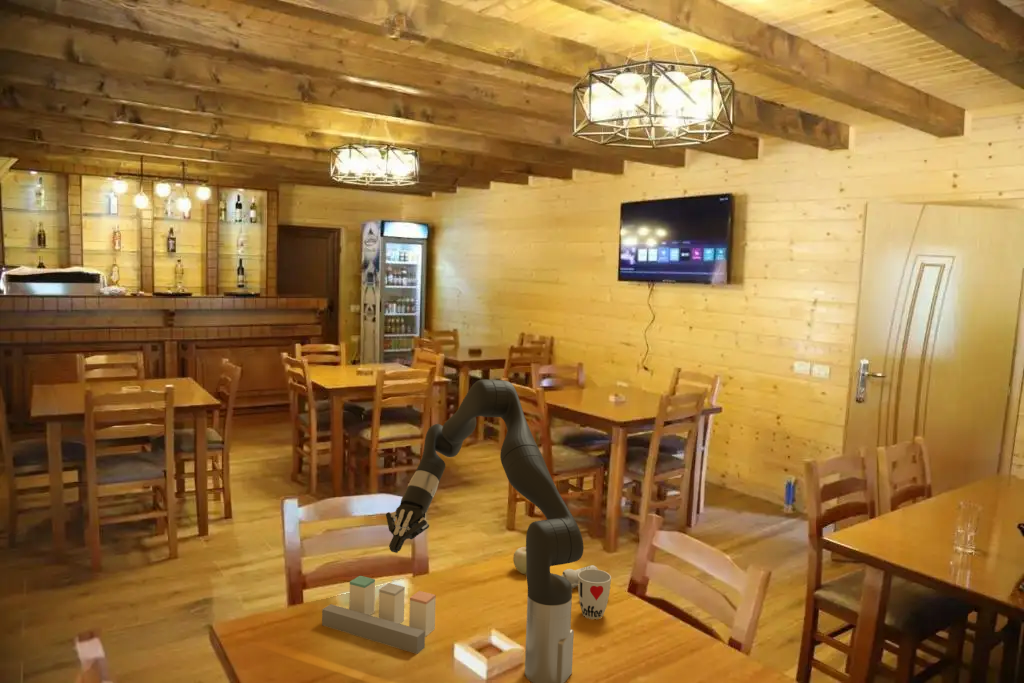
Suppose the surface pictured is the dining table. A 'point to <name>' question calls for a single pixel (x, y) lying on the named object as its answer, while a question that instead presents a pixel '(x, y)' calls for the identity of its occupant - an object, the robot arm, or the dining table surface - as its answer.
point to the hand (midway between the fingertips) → (393, 551)
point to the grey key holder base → (374, 628)
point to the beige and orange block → (422, 612)
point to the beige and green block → (362, 595)
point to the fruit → (520, 560)
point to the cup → (593, 592)
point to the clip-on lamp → (575, 574)
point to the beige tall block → (391, 603)
